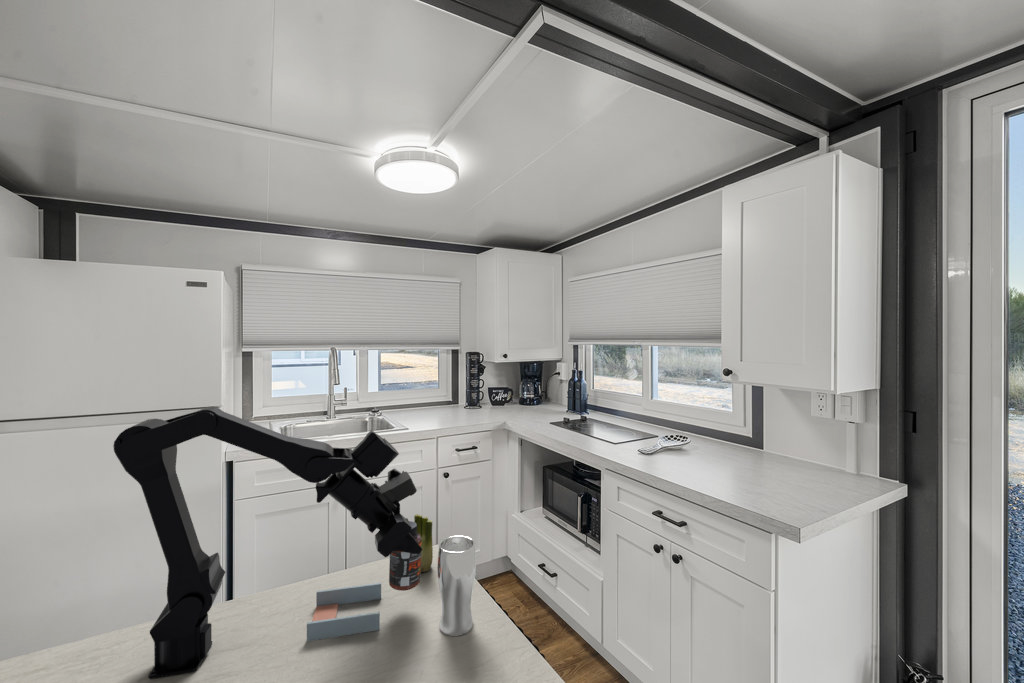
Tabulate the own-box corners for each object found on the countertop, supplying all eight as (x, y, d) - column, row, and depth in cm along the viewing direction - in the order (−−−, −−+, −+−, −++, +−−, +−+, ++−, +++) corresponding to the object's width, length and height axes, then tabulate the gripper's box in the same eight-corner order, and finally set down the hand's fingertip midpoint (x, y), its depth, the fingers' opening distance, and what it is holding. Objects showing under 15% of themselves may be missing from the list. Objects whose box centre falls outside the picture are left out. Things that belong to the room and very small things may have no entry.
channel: (306, 641, 75) (306, 624, 75) (316, 606, 85) (316, 591, 85) (379, 629, 78) (379, 613, 78) (381, 597, 88) (381, 582, 88)
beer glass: (480, 616, 82) (480, 537, 82) (468, 641, 76) (469, 555, 75) (445, 610, 84) (446, 533, 84) (430, 634, 77) (431, 550, 77)
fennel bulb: (435, 573, 97) (435, 519, 97) (412, 577, 95) (413, 523, 95) (429, 560, 102) (430, 510, 102) (408, 564, 101) (408, 513, 100)
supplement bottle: (412, 594, 80) (413, 533, 80) (383, 590, 82) (384, 530, 82) (425, 577, 86) (426, 520, 86) (397, 573, 88) (398, 517, 87)
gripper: (399, 476, 74) (460, 530, 79) (382, 449, 91) (433, 495, 96) (349, 530, 71) (416, 583, 75) (341, 492, 88) (396, 537, 92)
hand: (416, 544), depth 85 cm, fingers closed on supplement bottle, 6 cm apart
